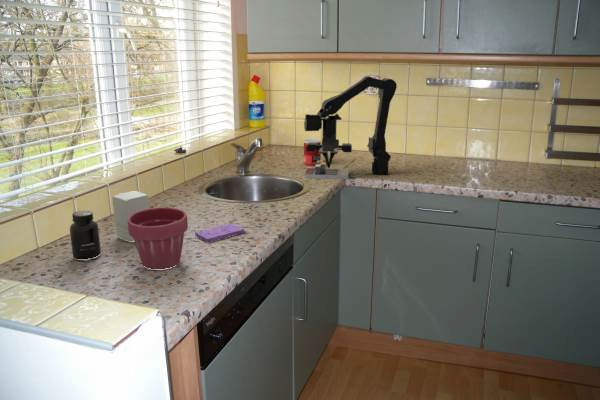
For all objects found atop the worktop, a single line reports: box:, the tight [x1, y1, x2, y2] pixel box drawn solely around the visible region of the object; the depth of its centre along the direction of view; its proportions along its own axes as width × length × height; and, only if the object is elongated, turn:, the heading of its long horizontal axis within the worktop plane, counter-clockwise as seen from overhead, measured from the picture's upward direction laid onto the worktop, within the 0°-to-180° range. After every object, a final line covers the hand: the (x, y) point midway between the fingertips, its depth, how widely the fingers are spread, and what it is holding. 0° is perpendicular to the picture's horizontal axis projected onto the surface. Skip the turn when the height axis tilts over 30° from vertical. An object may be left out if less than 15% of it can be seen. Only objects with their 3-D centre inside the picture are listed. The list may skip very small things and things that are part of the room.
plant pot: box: [128, 206, 189, 269], centre depth 126 cm, size 14×14×13 cm
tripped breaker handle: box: [320, 161, 327, 172], centre depth 214 cm, size 2×2×4 cm
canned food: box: [303, 138, 322, 167], centre depth 233 cm, size 8×8×11 cm
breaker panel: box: [304, 159, 350, 180], centre depth 214 cm, size 18×11×5 cm, turn 83°
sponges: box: [194, 223, 245, 243], centre depth 148 cm, size 7×13×2 cm, turn 131°
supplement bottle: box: [69, 210, 102, 259], centre depth 131 cm, size 7×7×12 cm
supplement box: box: [111, 190, 150, 241], centre depth 144 cm, size 7×7×13 cm
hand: (328, 167), depth 214 cm, fingers closed
